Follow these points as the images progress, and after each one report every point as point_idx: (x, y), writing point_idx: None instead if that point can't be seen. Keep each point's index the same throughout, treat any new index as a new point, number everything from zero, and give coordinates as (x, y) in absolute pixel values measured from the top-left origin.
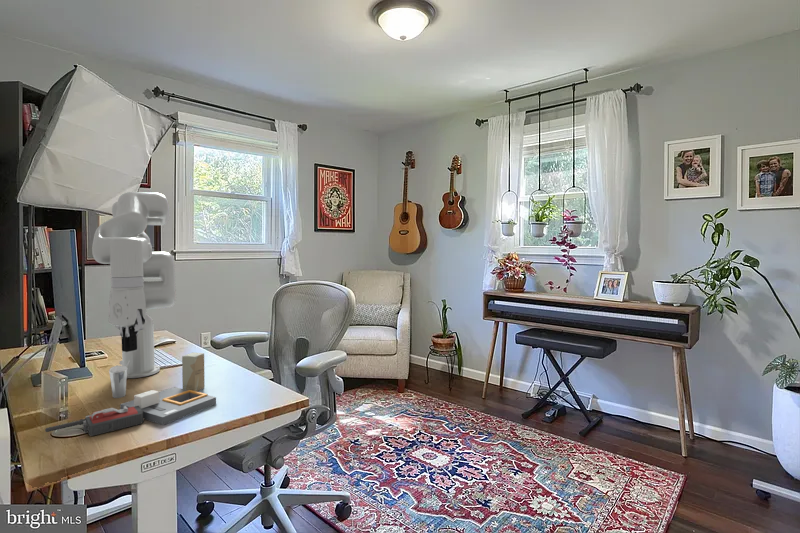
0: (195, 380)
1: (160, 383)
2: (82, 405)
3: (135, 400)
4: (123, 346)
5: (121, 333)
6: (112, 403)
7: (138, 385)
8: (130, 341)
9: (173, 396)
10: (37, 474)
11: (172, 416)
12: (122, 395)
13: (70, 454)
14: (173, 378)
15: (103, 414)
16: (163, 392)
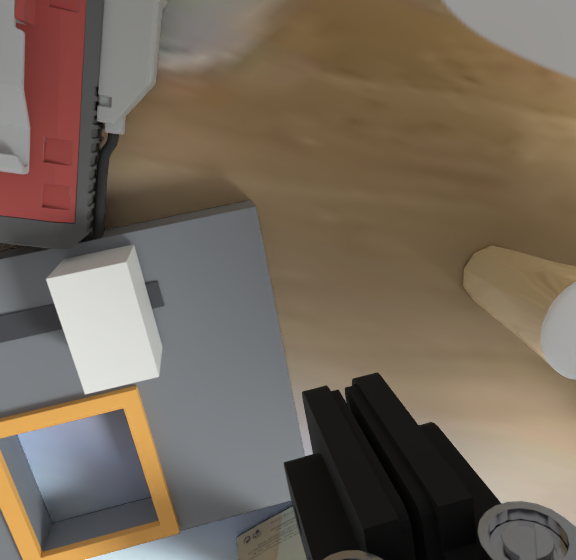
0: None
1: (506, 468)
2: (509, 97)
3: (116, 257)
4: (368, 414)
5: (542, 551)
6: (411, 215)
7: (567, 389)
8: (306, 536)
9: (135, 443)
10: None
11: None
12: (466, 283)
13: None
14: None
15: (38, 39)
16: (268, 429)
